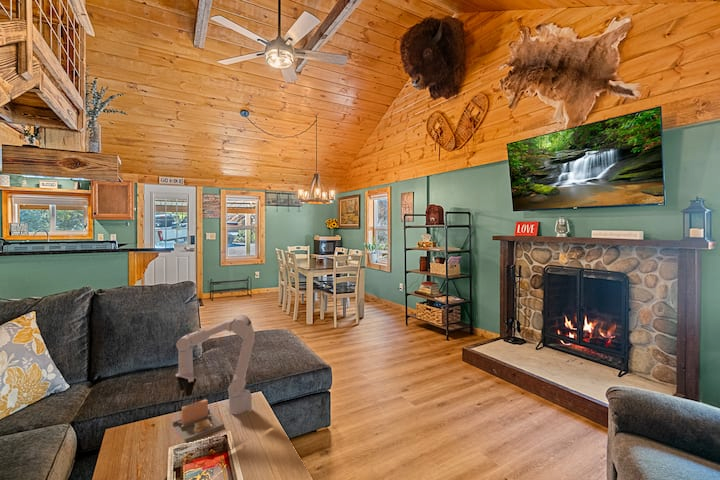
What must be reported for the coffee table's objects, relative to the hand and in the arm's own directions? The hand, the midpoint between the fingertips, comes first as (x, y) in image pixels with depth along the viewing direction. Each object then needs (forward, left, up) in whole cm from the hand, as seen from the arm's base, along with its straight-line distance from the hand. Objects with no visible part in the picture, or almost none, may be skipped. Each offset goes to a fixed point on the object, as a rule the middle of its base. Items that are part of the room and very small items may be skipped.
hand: (185, 392), depth 152 cm
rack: (0, +14, -10) cm, 18 cm away
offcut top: (-1, +19, -8) cm, 20 cm away
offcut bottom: (-1, +19, -9) cm, 21 cm away
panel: (0, +10, -9) cm, 14 cm away
